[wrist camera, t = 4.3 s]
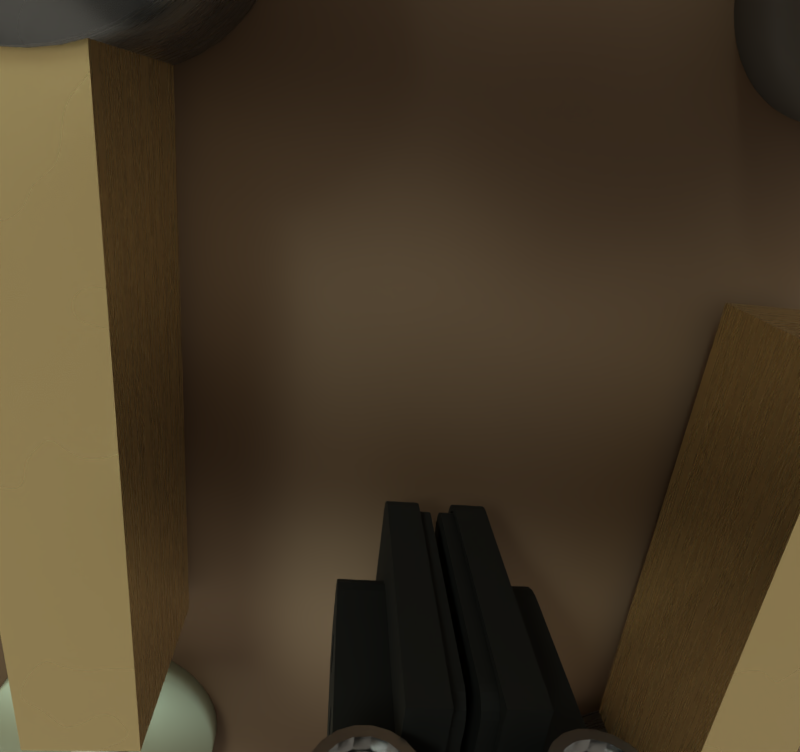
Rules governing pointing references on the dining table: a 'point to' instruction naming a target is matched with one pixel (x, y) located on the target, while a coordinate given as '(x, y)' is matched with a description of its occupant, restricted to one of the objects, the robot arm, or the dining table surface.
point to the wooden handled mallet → (722, 563)
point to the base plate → (452, 309)
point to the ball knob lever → (92, 361)
